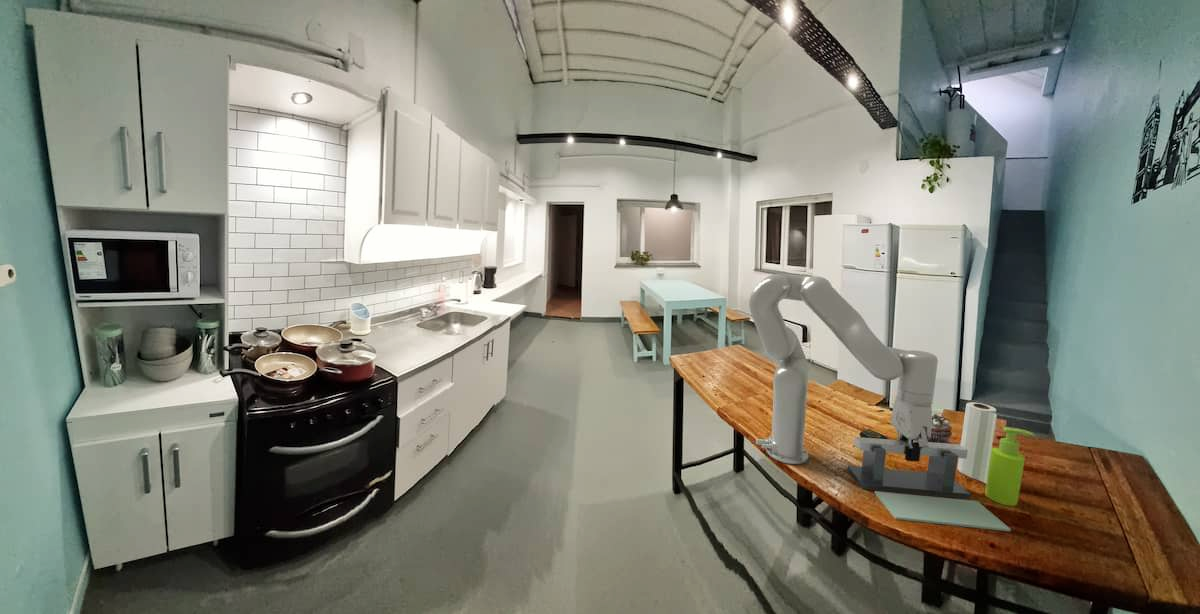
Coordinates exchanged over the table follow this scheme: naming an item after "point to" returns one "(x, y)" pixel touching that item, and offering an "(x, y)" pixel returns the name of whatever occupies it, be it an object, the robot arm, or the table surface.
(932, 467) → the rack
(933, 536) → the table surface
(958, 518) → the mat
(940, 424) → the cupcake
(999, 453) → the soap dispenser
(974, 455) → the paper towel roll
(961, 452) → the rail
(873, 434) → the tape measure
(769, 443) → the robot arm
